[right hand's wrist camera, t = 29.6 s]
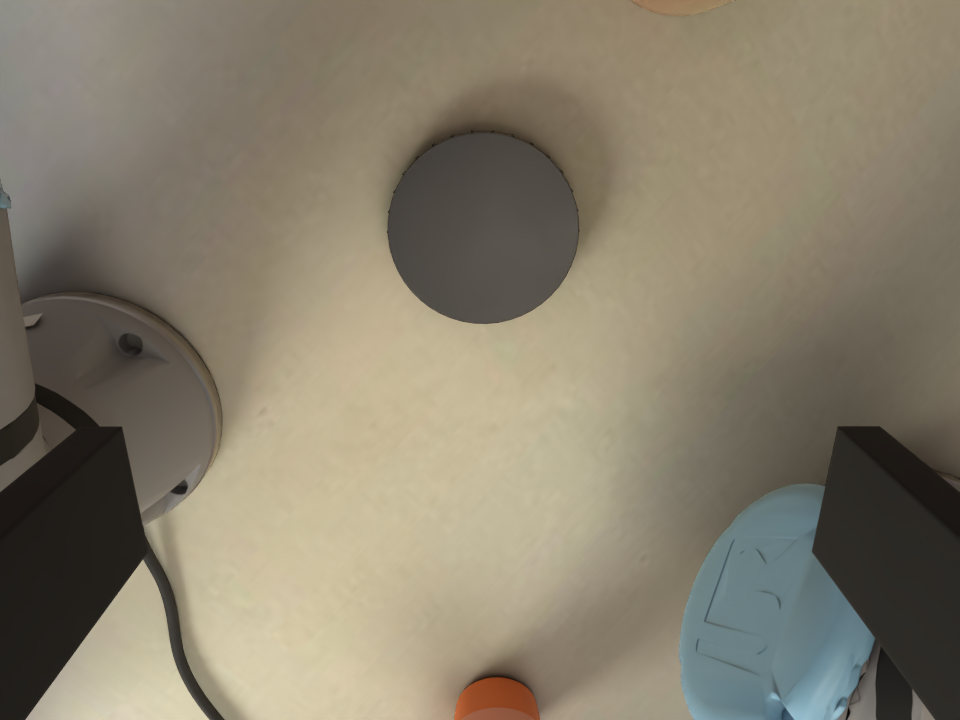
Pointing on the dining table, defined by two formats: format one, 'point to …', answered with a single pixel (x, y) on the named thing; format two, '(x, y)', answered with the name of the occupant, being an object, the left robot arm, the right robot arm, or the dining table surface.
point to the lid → (483, 227)
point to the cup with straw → (496, 701)
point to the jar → (680, 6)
